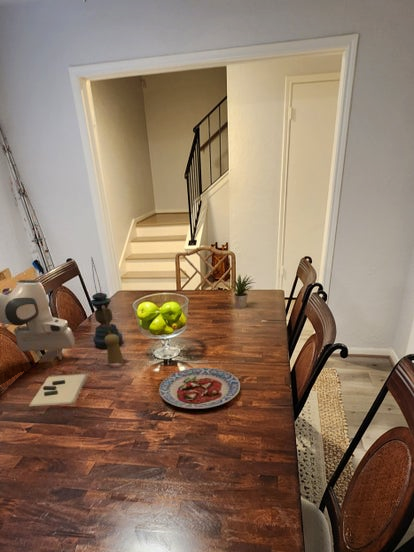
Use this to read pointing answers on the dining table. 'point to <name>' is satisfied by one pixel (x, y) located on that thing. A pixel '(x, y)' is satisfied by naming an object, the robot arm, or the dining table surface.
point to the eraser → (49, 359)
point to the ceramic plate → (199, 388)
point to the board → (60, 390)
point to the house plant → (241, 291)
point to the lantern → (103, 318)
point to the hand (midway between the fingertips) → (51, 359)
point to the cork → (113, 349)
